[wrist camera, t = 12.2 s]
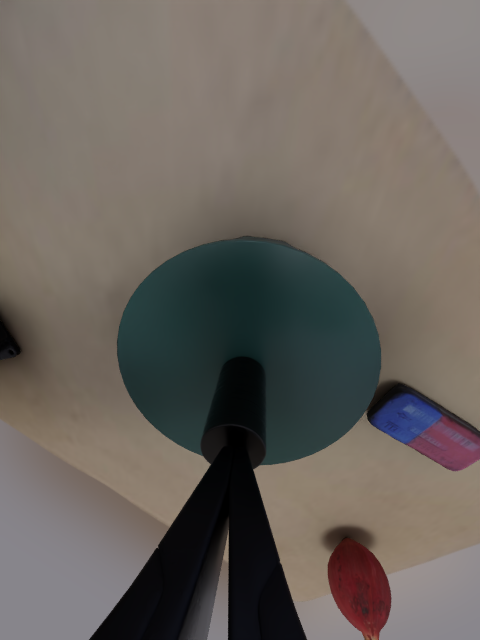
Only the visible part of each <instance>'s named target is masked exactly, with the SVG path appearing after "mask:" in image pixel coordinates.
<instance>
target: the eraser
mask: <svg viewBox="0 0 480 640" xmlns="http://www.w3.org/2000/svg"><path fill="white" fill-rule="evenodd" d="M367 418H368V421H369V422H370V423H371V424H372V425H373V426H374V427H376V428H377V429H379V430H381V431H383V432H384V433H386V434H388V435H390V436H391V437H393V438H394V439H396V440H398V441H400V442H402V443H404V444H406V445H408V446H410V447H412V448H414V449H415V450H417V451H418V452H420V453H421V454H423V455H425V456H427V457H429V458H430V459H432V460H434V461H435V462H437V463H439V464H440V465H442V466H443V467H445V468H447V469H449V470H451V471H460V470H463V469H465V468H466V467H468V466H469V465H471V464H473V463H474V462H476V461H477V460H479V459H480V432H479V431H478V430H477V429H476V428H474V427H473V426H471V425H470V424H468V423H467V422H465V421H463V420H462V419H460V418H459V417H457V416H455V415H454V414H452V413H451V412H449V411H447V410H446V409H444V408H443V407H441V406H440V405H438V404H436V403H435V402H433V401H431V400H430V399H428V398H427V397H425V396H423V395H422V394H420V393H419V392H417V391H415V390H413V389H411V388H409V387H407V386H405V385H403V384H399V383H398V384H397V385H396V386H395V387H394V388H393V389H391V390H390V391H389V392H388V393H387V394H386V395H385V396H384V397H383V398H382V399H381V400H380V401H379V402H378V403H376V404H375V405H374V406H373V407H372V408H371V409H370V410H369V411H368V412H367Z"/></svg>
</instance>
